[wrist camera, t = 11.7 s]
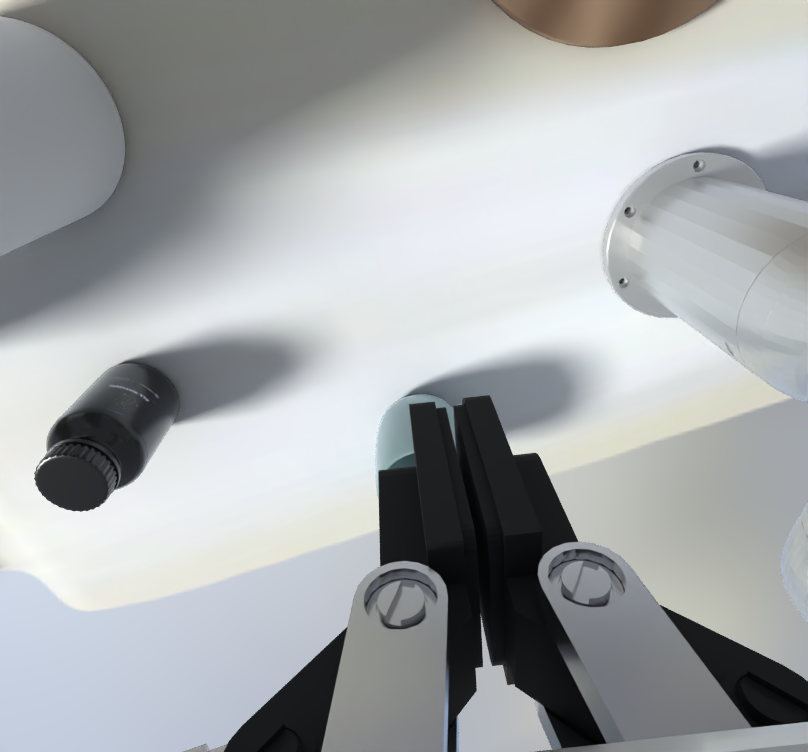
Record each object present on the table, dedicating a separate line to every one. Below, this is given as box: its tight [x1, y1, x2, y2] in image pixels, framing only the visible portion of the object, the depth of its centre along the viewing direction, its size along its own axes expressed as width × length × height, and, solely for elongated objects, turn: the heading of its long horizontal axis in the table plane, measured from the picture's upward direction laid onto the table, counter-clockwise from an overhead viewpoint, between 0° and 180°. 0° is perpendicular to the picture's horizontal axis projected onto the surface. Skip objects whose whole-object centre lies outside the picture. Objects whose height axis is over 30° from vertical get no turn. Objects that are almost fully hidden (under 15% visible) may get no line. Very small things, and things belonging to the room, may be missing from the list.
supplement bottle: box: [34, 363, 179, 511], centre depth 42 cm, size 7×7×12 cm
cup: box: [375, 394, 456, 499], centre depth 46 cm, size 8×8×10 cm
